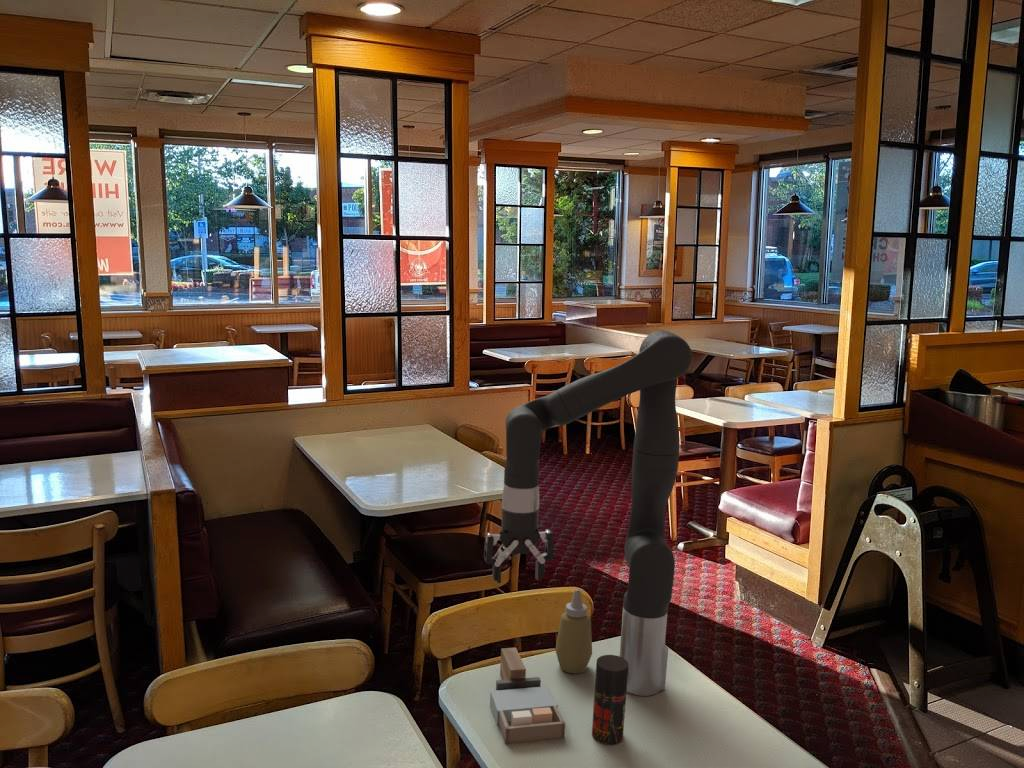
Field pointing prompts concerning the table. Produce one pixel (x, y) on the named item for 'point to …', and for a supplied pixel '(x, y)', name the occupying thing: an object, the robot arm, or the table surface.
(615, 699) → the deodorant
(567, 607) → the squeeze bottle
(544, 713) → the tile
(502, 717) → the box
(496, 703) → the grey flat-topped cover
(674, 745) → the table surface
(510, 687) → the scraper
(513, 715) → the tile
